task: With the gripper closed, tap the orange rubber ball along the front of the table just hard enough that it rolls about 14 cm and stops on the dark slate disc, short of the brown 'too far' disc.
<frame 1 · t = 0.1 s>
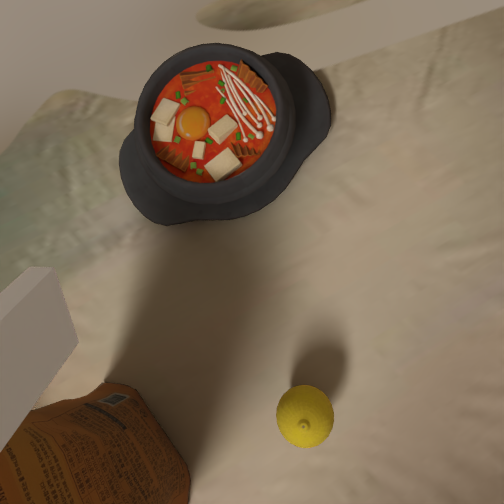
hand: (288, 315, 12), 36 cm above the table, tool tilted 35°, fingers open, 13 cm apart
casserole: (225, 145, 51), on the table
lemon: (305, 405, 46), on the table
pancake mix bag: (152, 436, 48), on the table
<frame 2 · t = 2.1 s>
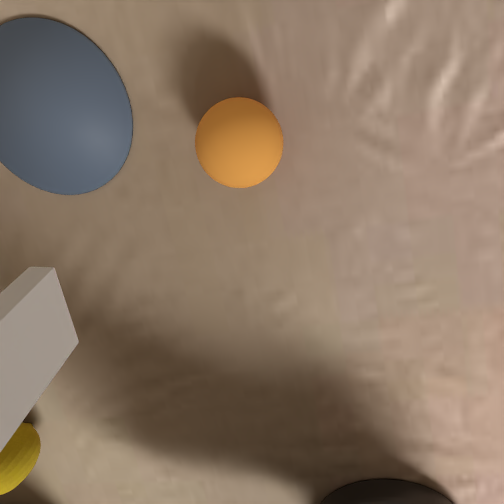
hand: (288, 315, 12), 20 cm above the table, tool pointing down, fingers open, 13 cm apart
lemon: (31, 422, 47), on the table
ball: (239, 143, 27), on the table
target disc: (51, 113, 31), on the table
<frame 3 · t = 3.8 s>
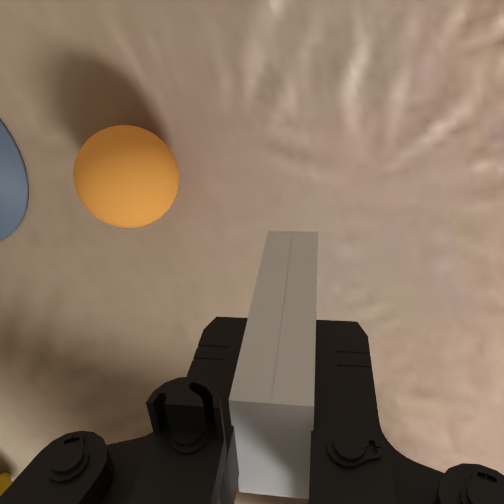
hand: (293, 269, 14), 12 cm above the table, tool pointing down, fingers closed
lemon: (8, 471, 45), on the table
ball: (128, 177, 24), on the table
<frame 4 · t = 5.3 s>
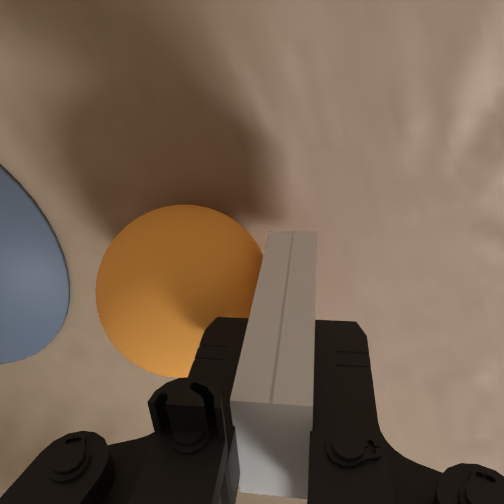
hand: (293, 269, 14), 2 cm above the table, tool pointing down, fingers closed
ball: (185, 289, 14), on the table
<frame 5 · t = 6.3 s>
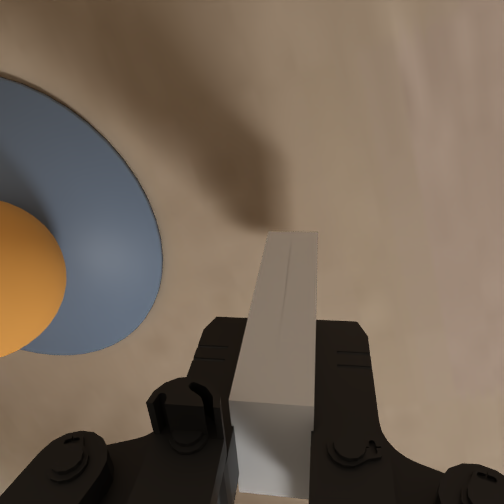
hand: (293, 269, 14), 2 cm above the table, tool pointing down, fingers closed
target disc: (13, 236, 17), on the table
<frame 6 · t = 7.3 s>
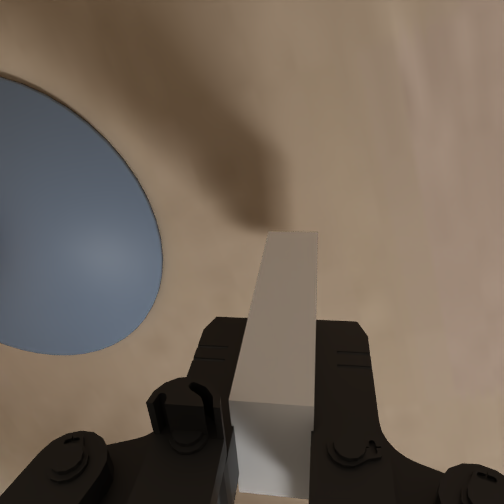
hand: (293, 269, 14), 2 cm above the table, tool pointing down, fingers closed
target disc: (13, 236, 17), on the table
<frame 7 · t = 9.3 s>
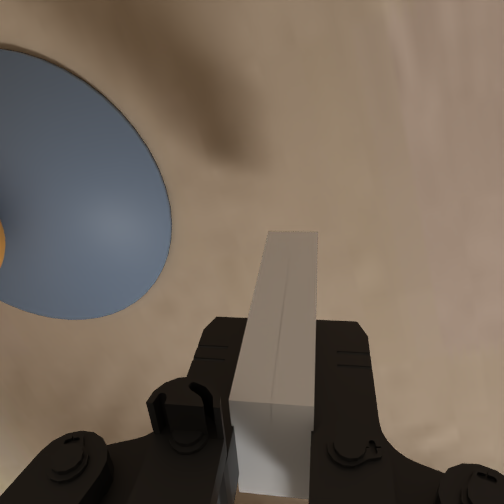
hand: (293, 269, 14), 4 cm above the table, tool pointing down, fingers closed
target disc: (32, 205, 18), on the table
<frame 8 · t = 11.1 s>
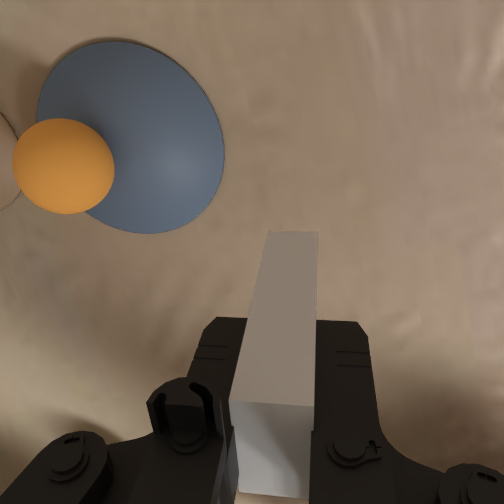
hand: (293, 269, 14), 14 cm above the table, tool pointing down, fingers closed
ball: (65, 167, 26), resting on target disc
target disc: (130, 147, 27), on the table
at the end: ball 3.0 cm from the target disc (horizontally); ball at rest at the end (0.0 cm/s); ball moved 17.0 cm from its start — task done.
